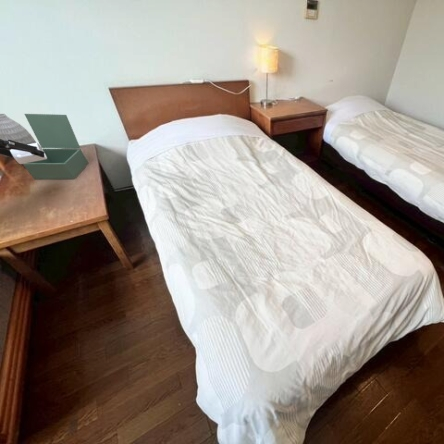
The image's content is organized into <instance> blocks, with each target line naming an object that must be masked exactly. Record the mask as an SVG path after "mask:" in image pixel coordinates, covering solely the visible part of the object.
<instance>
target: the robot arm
mask: <svg viewBox="0 0 444 444" xmlns="http://www.w3.org/2000/svg"><path fill="white" fill-rule="evenodd" d="M7 145H8V146H9V148H7ZM11 149H13V150H19V151H25V152H30V153H31V154H33V155H37V156H40V157H44V152H43V151H40V150H38V149H37V147H36V146H31V145H27V144H23V143H19V142H15V141H12V140H8V141H4V140H2V139H0V155H3V156H7V157H10V158H14V157H13V155H12V154H11V152H10V150H11Z"/></svg>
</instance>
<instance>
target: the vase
mask: <svg viewBox="0 0 444 444" xmlns="http://www.w3.org/2000/svg"><path fill="white" fill-rule="evenodd" d="M0 139H2V140H4V141H8V140H12V141H15V142H19V143H23V144H33V143H37V141H36V140H35V138H34V137H33V136H32V134H31V133H30V132H29V131H28V130H27V128H25V127H24V126H23V125H22V124H21V123H19V122H17V121H16V120H14V119H12V118H10V117H9V116H8V115H6V114H5V113H0ZM7 148H9V146H8V145H7Z"/></svg>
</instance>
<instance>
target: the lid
mask: <svg viewBox="0 0 444 444" xmlns="http://www.w3.org/2000/svg"><path fill="white" fill-rule="evenodd" d="M24 116H25V118H26V121H27V122H28V124H29V126H30V128H31V130H32V132H33V134H34V136H35V138H36V140H37V141H38V142H37V143H38V144H39V145H40V146H41V148H42V149H81V146H80V144H79V141H78V139H77V137H76V134H75V131H74V130H73V127H72V125H71V122H70V120H69V118H68V116H67V114H57V113H56V114H55V113H54V114H53V113H52V114H51V113H24Z"/></svg>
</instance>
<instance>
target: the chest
mask: <svg viewBox="0 0 444 444" xmlns="http://www.w3.org/2000/svg"><path fill="white" fill-rule="evenodd" d="M42 149H43V151H44V153H45V154H46V157H47V159H45V160H40V161H35V162H29V163H24V164H22V165H23V166H24V168H25V169H26V171H27V172H28V173H29V175H30V176H31V177H32V178H33V179H34V180H37V181H38V180H39V181H41V180H75V179H77V177H78V176H79V175H80V174H81V172H83V170H84V169H85V168H86V167H87V166H88V165H89V162H88V159H87V158H86V156H85V155H84V153H83V151H82V149H81V148H42Z"/></svg>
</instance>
